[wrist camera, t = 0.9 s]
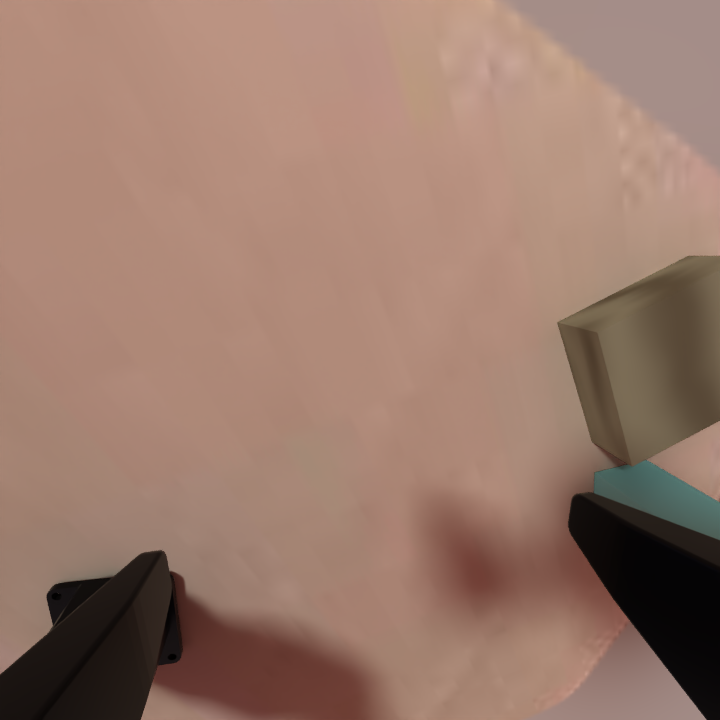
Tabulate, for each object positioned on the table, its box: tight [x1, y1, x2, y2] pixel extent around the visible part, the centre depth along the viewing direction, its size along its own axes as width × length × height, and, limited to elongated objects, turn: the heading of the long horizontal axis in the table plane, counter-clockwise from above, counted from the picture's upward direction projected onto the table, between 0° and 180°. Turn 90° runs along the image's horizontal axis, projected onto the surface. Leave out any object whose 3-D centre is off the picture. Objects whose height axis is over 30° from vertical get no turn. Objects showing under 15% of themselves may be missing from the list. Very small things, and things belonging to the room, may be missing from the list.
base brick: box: [557, 256, 720, 467], centre depth 23 cm, size 9×9×4 cm
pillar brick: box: [594, 460, 720, 540], centre depth 22 cm, size 4×4×10 cm
